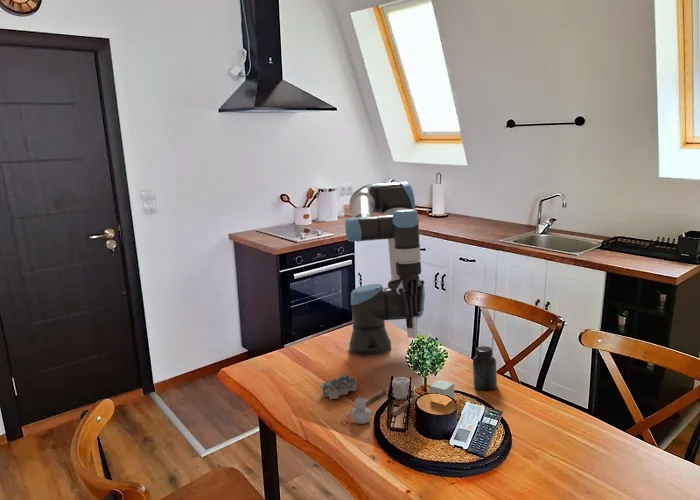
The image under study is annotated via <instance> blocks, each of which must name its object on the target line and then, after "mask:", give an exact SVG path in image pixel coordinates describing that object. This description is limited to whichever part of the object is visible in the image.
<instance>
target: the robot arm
mask: <svg viewBox="0 0 700 500" xmlns="http://www.w3.org/2000/svg"><path fill="white" fill-rule="evenodd" d="M412 187H413V186H412V185H411V183H410V182H408V181H394V182H381V183H380V182H379V183H369V184H366V185H363V186H361V187H360V188H358V189H357V190H355V191H354V192H353V194H352V195H351V197H350V198H349V209H350V212H351V218H350V217H349V218H346V219H345V222H344V225H345V237H346V240H347V241H348V242H356V243H357V242H366V241H378V240H387V242H388V253H389V254H388V255H389V256H388V257H389V264H390V265H389V266H390V276H391V278H390V280H389V281H388V282H387V287H384V286H383V285H382V284H380V283H369V284H365V285H364V284H363V285H360V286H358V287H356V288H355V289H353V290H351V293H350V305H351V315H352V316H351V317H352V320H351V321H352V332H351V337H350V342H349V351H350V352H351V353H352V354H354V355H357V356H363V357H365V356H367V357H369V356H378V355H383V354H386V353H387V352H389V351H390V350H391V349H392V342H391V339H390V337H389V334H388V332H387V329H386V325H385V323H386V321H395V320H396V321H397V320H399V321H400V320H405V322H406V333H407V338H409V339H416V338H418V337H417V336H419V335H418V319H420V318H422V316H423V315H424V311H425V300H426V299H425V295H426V294H425V292H426V291H425V285H424V284H425V280H424V279H423V280H422V279H420V276H419V275H421V273H422V263H421V261H420V260H421V259H422V258H421V246H420V228H419V227H420V225H419V223H420V220H419V219H420V218H419V213H418V210H417V209H416V201H415V194H414V190H413V188H412ZM374 214H381V215H378V216H377V215H375V216H374Z"/></svg>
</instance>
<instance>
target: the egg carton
mask: <svg viewBox="0 0 700 500" xmlns="http://www.w3.org/2000/svg"><path fill="white" fill-rule="evenodd" d="M358 381H359V379H356V377H352V376H351V375H348V374H346V373H344V374H343V375H341V376H340V377H337V378H334V379H331V380H329V381H328V382H323V383H321V384H320V386H319V389H322V390H321V391H322V396H323V397H324V398H326V397H329V400H334V399H339V398H340V396H343V395H344V396H345V395H346V396H347V394H348V393H349V392H354V391H357V388H358Z"/></svg>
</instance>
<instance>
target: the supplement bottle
mask: <svg viewBox="0 0 700 500" xmlns="http://www.w3.org/2000/svg"><path fill="white" fill-rule="evenodd" d="M493 354H494V353H493V348H492V347H490V346H484V345H482V346H477V347H476V348H475V356H474V357H473V358H472V376H473V386H474V388H475V389H477V390H479V391H483V392H491V391H494V390H495V389H496V388H497V387H498V379H497V378H498V376H497V374H498V373H497V359H496V358H495V356H494V355H493Z"/></svg>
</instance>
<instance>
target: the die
mask: <svg viewBox="0 0 700 500" xmlns="http://www.w3.org/2000/svg"><path fill="white" fill-rule="evenodd" d="M410 381H411V379H409V378H408V377H405V376H398V377H394V378H393V379H392V380H391V382H392V387H393V395H392V396H393V397H394V398H395V399H397V400H407V399H408V398H407V395H408V389H409V385H410ZM411 391H412V393H413V391H414V385H413V382H412V381H411Z"/></svg>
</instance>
